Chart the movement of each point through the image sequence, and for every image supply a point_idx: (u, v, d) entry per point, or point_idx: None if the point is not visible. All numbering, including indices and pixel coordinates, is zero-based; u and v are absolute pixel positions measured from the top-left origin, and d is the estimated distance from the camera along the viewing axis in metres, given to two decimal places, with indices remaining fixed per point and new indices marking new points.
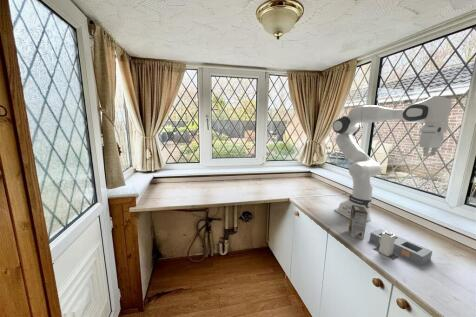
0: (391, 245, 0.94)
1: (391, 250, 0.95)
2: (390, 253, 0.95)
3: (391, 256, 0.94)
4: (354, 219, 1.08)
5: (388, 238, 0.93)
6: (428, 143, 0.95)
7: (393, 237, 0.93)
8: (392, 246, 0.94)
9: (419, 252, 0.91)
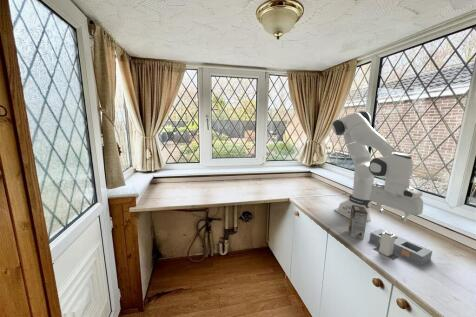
0: (391, 245, 0.94)
1: (391, 250, 0.95)
2: (390, 253, 0.95)
3: (391, 256, 0.94)
4: (354, 219, 1.08)
5: (388, 238, 0.93)
6: (422, 210, 0.84)
7: (393, 237, 0.93)
8: (392, 246, 0.94)
9: (419, 252, 0.91)
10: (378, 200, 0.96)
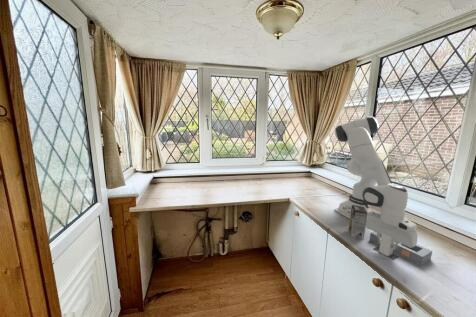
0: None
1: (391, 250, 0.95)
2: (390, 253, 0.95)
3: (391, 256, 0.94)
4: (354, 219, 1.08)
5: (388, 238, 0.93)
6: (416, 242, 0.87)
7: None
8: None
9: (419, 252, 0.91)
10: (374, 228, 0.99)
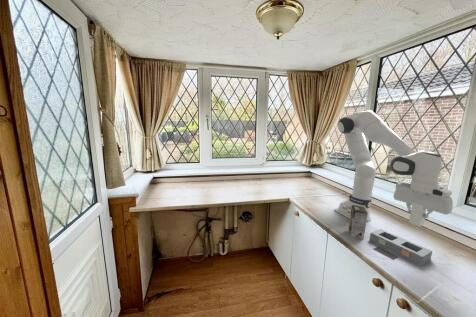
0: None
1: (422, 220, 0.91)
2: (421, 223, 0.91)
3: (391, 256, 0.94)
4: (354, 219, 1.08)
5: (419, 207, 0.90)
6: (451, 209, 0.83)
7: None
8: None
9: (419, 252, 0.91)
10: (403, 198, 0.95)
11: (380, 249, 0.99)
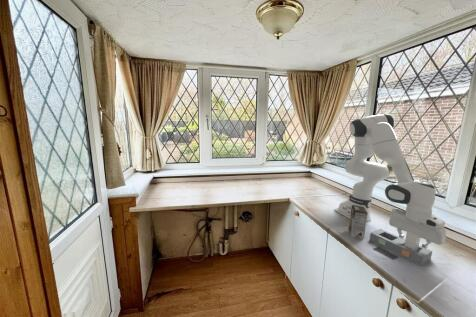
0: (417, 244, 0.93)
1: (416, 249, 0.94)
2: None
3: (391, 256, 0.94)
4: (354, 219, 1.08)
5: (413, 237, 0.93)
6: None
7: None
8: (417, 245, 0.94)
9: (419, 252, 0.91)
10: (398, 225, 0.98)
11: (380, 249, 0.99)
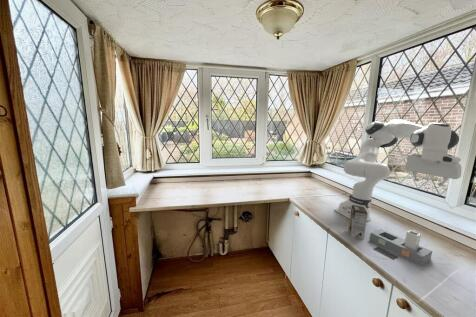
0: (417, 244, 0.93)
1: (416, 249, 0.94)
2: None
3: (391, 256, 0.94)
4: (354, 219, 1.08)
5: (413, 237, 0.93)
6: (460, 174, 0.90)
7: (419, 236, 0.92)
8: (417, 245, 0.94)
9: (419, 252, 0.91)
10: (414, 168, 1.02)
11: (380, 249, 0.99)
